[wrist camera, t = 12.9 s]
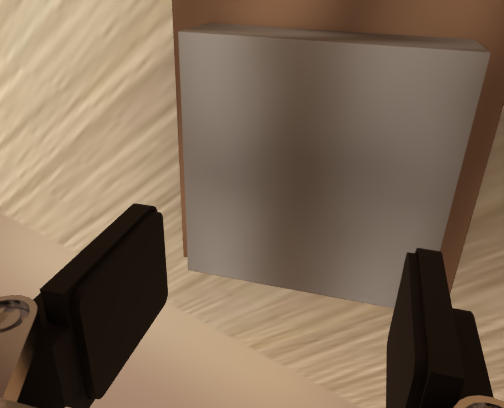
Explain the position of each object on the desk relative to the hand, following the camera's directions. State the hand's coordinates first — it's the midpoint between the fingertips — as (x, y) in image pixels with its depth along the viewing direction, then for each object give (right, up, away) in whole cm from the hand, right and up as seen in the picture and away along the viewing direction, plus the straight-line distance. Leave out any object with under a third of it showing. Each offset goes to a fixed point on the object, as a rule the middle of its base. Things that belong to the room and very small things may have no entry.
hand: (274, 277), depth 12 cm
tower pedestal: (+3, +5, +9) cm, 11 cm away
